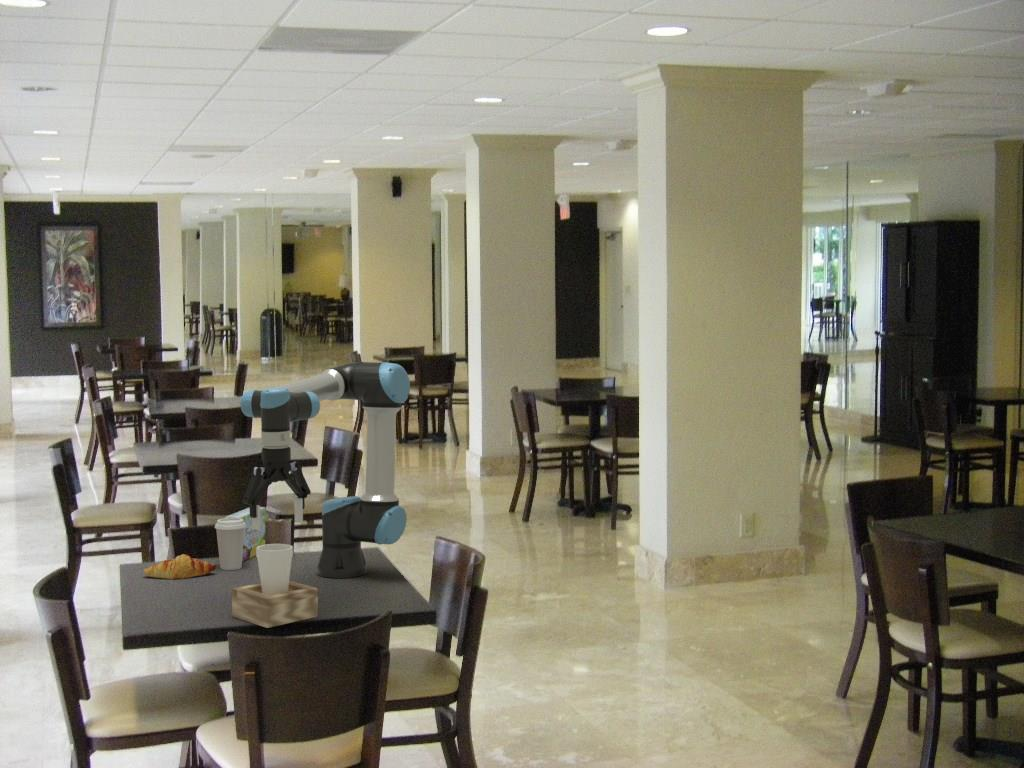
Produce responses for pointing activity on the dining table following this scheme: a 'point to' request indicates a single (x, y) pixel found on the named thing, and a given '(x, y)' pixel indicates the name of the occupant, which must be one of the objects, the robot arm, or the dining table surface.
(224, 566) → the coffee cup
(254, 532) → the snack box
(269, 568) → the foam cup
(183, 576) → the croissant
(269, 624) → the wooden box
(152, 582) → the dining table surface
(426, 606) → the dining table surface
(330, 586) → the dining table surface
